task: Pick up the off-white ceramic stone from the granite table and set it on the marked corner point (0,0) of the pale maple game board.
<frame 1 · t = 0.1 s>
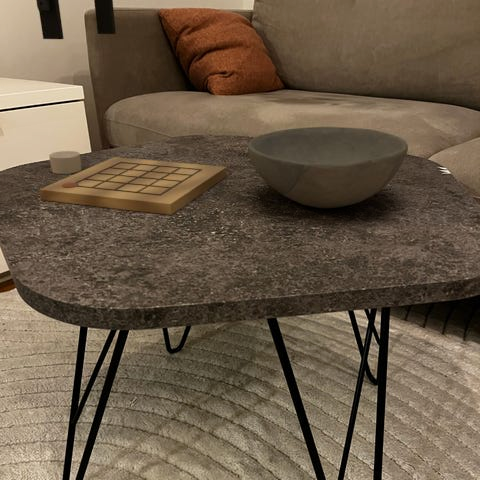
hand: (81, 36, 85), 20 cm above the table, tool pointing down, fingers open, 13 cm apart
board: (139, 187, 87), on the table
stone: (66, 170, 96), on the table
bowl: (323, 200, 82), on the table
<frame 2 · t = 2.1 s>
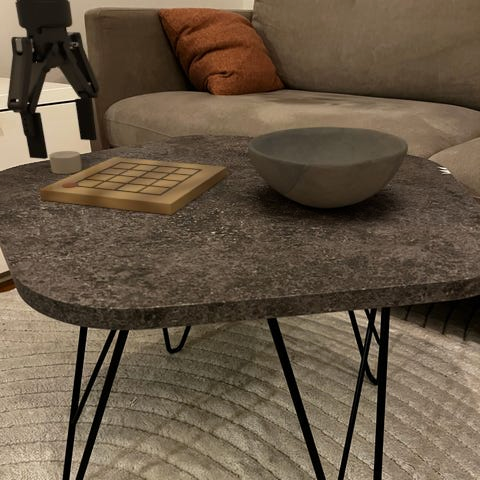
hand: (65, 148, 94), 4 cm above the table, tool pointing down, fingers open, 13 cm apart
nothing on the table moved.
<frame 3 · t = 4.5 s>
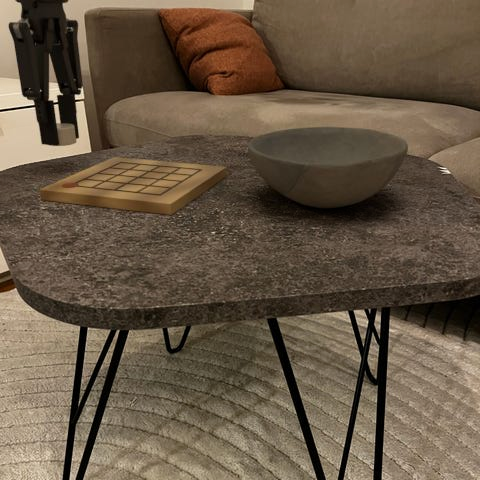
hand: (60, 140, 94), 5 cm above the table, tool pointing down, fingers closed on stone, 5 cm apart
stone: (61, 142, 94), point 4 cm above the table, touching gripper
everything else where it was.
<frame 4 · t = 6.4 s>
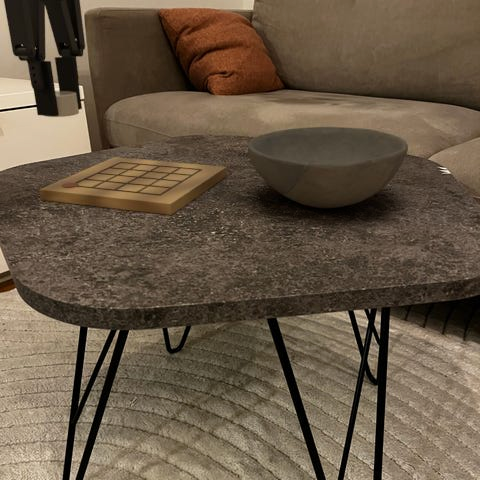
hand: (60, 111, 79), 11 cm above the table, tool pointing down, fingers closed on stone, 5 cm apart
stone: (60, 113, 80), point 11 cm above the table, touching gripper
everything else where it was.
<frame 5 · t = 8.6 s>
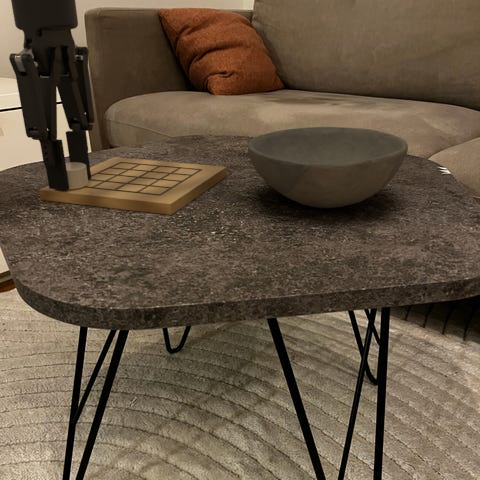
hand: (70, 183, 83), 2 cm above the table, tool pointing down, fingers closed on stone, 5 cm apart
stone: (71, 184, 83), point 2 cm above the table, touching board, gripper
everything else where it was.
when the fingers open (2 cm above the table, at t = 8.8 s): stone stays where it is, resting on board.
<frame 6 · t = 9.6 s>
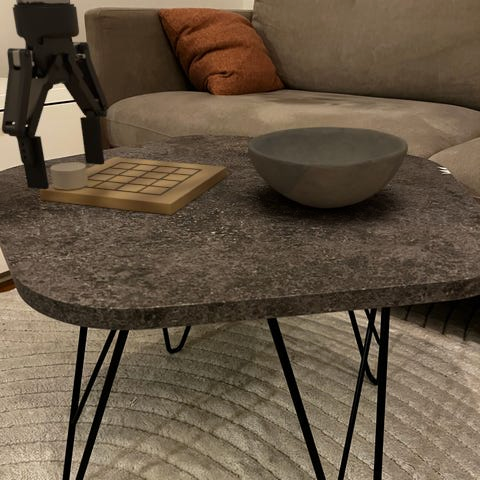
hand: (68, 175, 82), 3 cm above the table, tool pointing down, fingers open, 13 cm apart
stone: (70, 184, 83), point 2 cm above the table, touching board
everything else where it was.
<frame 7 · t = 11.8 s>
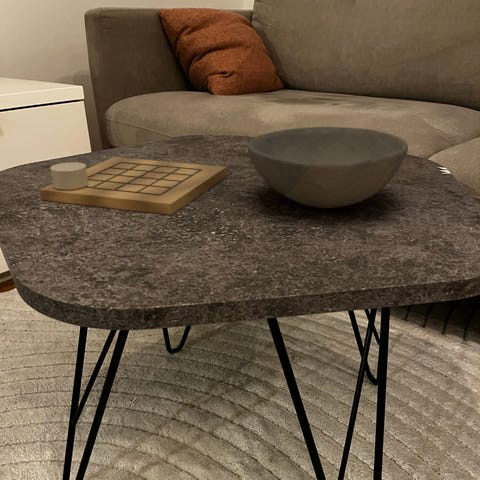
nothing on the table moved.
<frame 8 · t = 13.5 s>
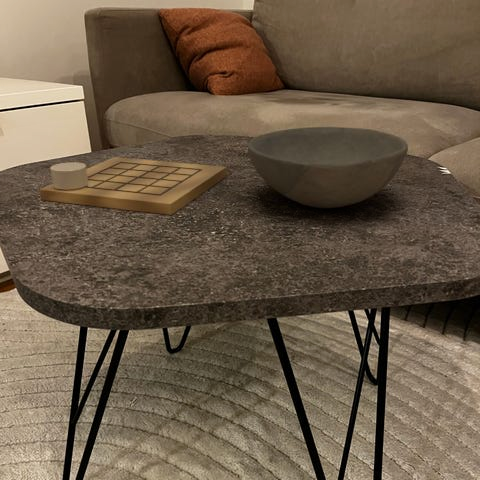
nothing on the table moved.
at the end: stone 0.1 cm from the target spot on the board, point 1.6 cm above the board's base; stone tilted 0°; the gripper is holding nothing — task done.
